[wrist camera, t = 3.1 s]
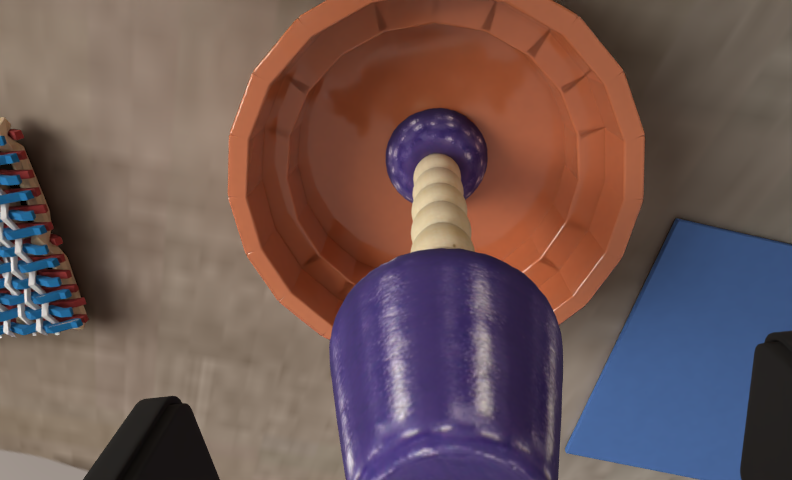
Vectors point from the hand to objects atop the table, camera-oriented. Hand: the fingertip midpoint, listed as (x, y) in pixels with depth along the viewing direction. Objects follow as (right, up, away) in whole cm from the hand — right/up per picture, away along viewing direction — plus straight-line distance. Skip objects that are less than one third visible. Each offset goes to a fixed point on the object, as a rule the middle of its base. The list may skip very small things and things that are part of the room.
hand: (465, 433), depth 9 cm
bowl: (0, +7, +14) cm, 15 cm away
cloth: (+18, -4, +18) cm, 26 cm away
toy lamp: (0, +7, +14) cm, 15 cm away
